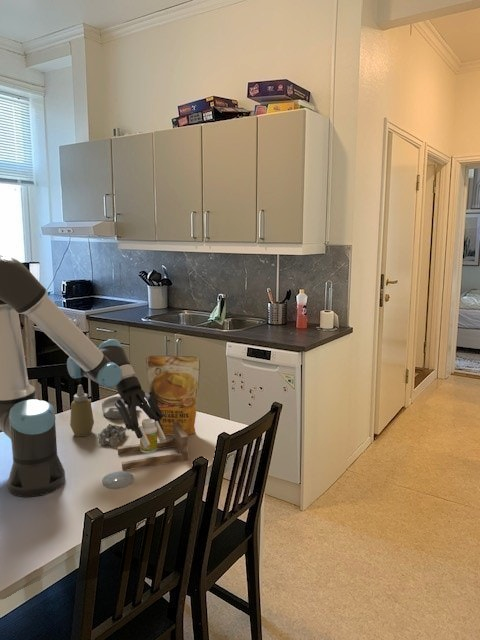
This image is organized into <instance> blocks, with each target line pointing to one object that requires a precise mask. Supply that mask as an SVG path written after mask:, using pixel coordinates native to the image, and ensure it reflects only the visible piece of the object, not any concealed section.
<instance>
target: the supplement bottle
mask: <svg viewBox="0 0 480 640" xmlns="http://www.w3.org/2000/svg"><path fill="white" fill-rule="evenodd" d="M154 425H155V420H153V419H150V418H144V419H142V421H141V426H142V428H143V430H144V432H145V434H146V436H147V438H148V440H149V443H150V445H149V446H148V447H147V448H144V446H143V444H142V442H141V440H140V439H139V444H140V450H141V452H142V453H145V454H147V453H148V454H150V453H154V452H156V451H157V450H158V449H157V441H158V436H157V428H156V426H154Z"/></svg>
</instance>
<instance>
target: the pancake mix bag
mask: <svg viewBox="0 0 480 640" xmlns="http://www.w3.org/2000/svg"><path fill="white" fill-rule="evenodd" d="M145 361H146V362H145V363H146V373H147V384H148V393H149V392H153V397H154V399H155V401H156V403H157V405H158V407H159V409H160V411H161V413H162V414H163V417H162V418H161V419H160V423H161V425H162V427H163V430H162V431H163V433H164V435H165V436H173V422H179V423H180V425H181V426H182V428H183V429H184V431H185V433H186V434H187V436H190V435H192V434H194V435H195V434H196V428H195V423H196V417H197V406H198V400H199V399H198V398H199V390H200V389H199V388H200V373H201V372H200V371H201V362H200V361H201V360H200V359H199V358H197V356H191V355H190V356H189V355H188V356H187V355H186V356H184V355H183V356H181V355H149V356H147V357H145Z"/></svg>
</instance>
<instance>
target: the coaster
mask: <svg viewBox="0 0 480 640" xmlns="http://www.w3.org/2000/svg"><path fill="white" fill-rule="evenodd" d="M134 480H135V477H134V474H133V473H131V472H129V471H125V470H121V471H120V470H119V471H118V470H117V471H114V472H110V473H108V474H106V475H105V476H104V477H102V479H101V484H102V485H103V486H104V487H106V488H108V489H116V490H117V489H122V488H125V487H128V486H130V485H131V484H132V483H133V482H134Z"/></svg>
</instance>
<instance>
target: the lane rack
mask: <svg viewBox="0 0 480 640" xmlns="http://www.w3.org/2000/svg"><path fill="white" fill-rule="evenodd" d="M172 447H173V448H174V449H175V450H176V453H173V454H172V453H171V454H165V455H160V456H152V457H145V458H140V459H139V458H137V459H133V460H126V461H125V460H124V461H122V462H121V469H122V470H121V471H126V470H132V469H133V470H134V469H140V468H146V467H153V466H158V465H164V464H171V463H177V462H184V461H189V435H187V434H186V433H185V431H184V429H183V428H182V426H181V425H180V423H179V422H173V435H172V439H165V440H164V441H163V442H162V443H160V441H159V440H157V450H160V449H166V448H172ZM138 452H142V451H141V450H140V443H139V444H136V443H135V444H131V445H123V446H117V455H118V456H119V455H125V454H133V453H138Z"/></svg>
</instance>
